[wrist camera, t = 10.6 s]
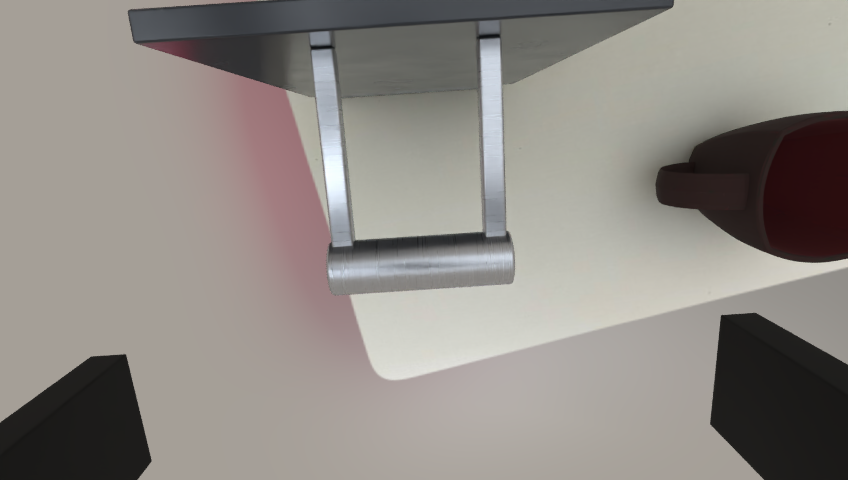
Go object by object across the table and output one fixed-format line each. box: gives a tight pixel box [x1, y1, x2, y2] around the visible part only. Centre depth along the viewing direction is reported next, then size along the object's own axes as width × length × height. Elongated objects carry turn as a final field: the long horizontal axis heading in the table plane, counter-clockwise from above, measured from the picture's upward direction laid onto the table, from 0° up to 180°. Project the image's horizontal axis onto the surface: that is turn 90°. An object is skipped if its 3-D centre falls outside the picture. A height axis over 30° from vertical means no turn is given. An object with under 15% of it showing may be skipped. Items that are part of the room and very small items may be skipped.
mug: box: [656, 111, 848, 263], centre depth 36 cm, size 10×14×12 cm
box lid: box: [128, 0, 674, 295], centre depth 22 cm, size 20×14×9 cm
